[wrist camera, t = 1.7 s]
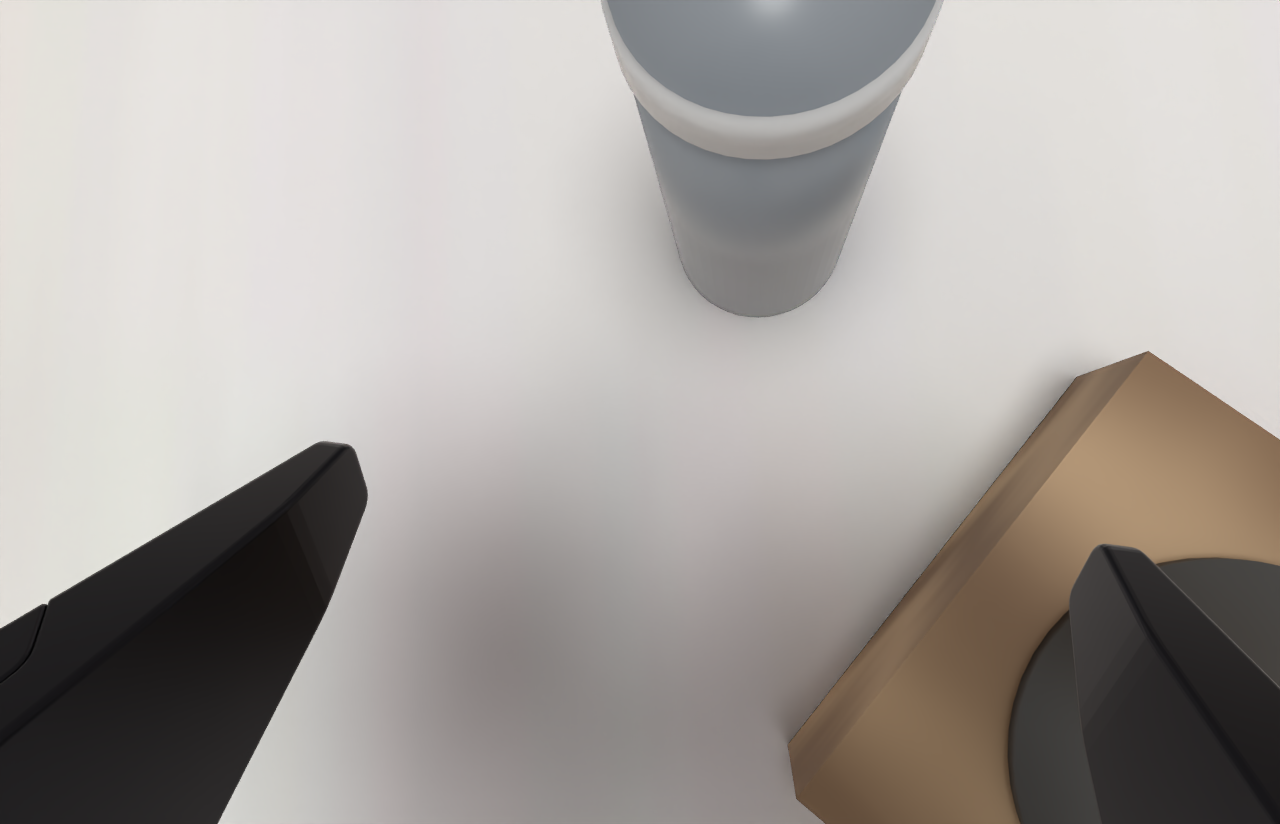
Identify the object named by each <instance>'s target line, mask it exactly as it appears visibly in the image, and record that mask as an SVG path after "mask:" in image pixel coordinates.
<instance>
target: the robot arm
mask: <svg viewBox="0 0 1280 824" xmlns="http://www.w3.org/2000/svg"><path fill="white" fill-rule="evenodd" d="M367 498H368V493H367V487H366V483H365V480H364V477H363V474H362V470H361V467H360V464H359V461H358V458H357V454H356V452H355V450H354V449H353V448H352V447H351V446H350V445H348V444H342V443H335V442H327V441H322V442H318V443H316V444H314V445H312V446H310V447H309V448H307V449H305V450H304V451H302V452H300V453H298V454H297V455H295V456H293V457H292V458H290V459H288V460H287V461H285V462H283V463H281V464H280V465H278V466H276V467H275V468H273V469H271V470H270V471H268V472H266V473H264V474H263V475H261V476H259V477H258V478H256V479H254V480H253V481H251V482H249V483H247V484H246V485H244V486H242V487H241V488H239V489H237V490H236V491H234V492H232V493H230V494H229V495H227V496H225V497H224V498H222V499H220V500H219V501H217V502H215V503H213V504H212V505H210V506H208V507H207V508H205V509H203V510H202V511H200V512H198V513H196V514H195V515H193V516H191V517H190V518H188V519H186V520H185V521H183V522H181V523H179V524H178V525H176V526H174V527H173V528H171V529H169V530H168V531H166V532H164V533H163V534H161V535H159V536H157V537H156V538H154V539H152V540H151V541H149V542H147V543H146V544H144V545H142V546H140V547H139V548H137V549H135V550H134V551H132V552H130V553H129V554H127V555H125V556H123V557H122V558H120V559H118V560H117V561H115V562H113V563H112V564H110V565H108V566H106V567H105V568H103V569H101V570H100V571H98V572H96V573H94V574H93V575H91V576H89V577H88V578H86V579H84V580H83V581H81V582H79V583H77V584H76V585H74V586H72V587H71V588H69V589H67V590H66V591H64V592H62V593H60V594H59V595H57V596H55V597H54V598H52V599H51V600H50V601H49V602H48V605H47V604H42V605H40V606H38V607H36V608H35V609H33V610H31V611H30V612H28V613H26V614H24V615H23V616H21V617H19V618H18V619H16V620H14V621H13V622H11V623H9V624H7V625H6V626H4V627H2V628H0V824H218V822H219V820H220V818H221V816H222V814H223V812H224V810H225V808H226V806H227V804H228V802H229V800H230V798H231V796H232V794H233V792H234V790H235V788H236V787H237V785H238V783H239V781H240V779H241V777H242V775H243V773H244V771H245V769H246V767H247V765H248V763H249V761H250V759H251V757H252V755H253V753H254V751H255V749H256V747H257V745H258V743H259V742H260V740H261V738H262V736H263V734H264V732H265V730H266V728H267V726H268V724H269V722H270V720H271V718H272V716H273V714H274V712H275V710H276V708H277V706H278V704H279V702H280V700H281V698H282V696H283V695H284V693H285V691H286V689H287V687H288V685H289V683H290V681H291V679H292V677H293V675H294V673H295V671H296V669H297V667H298V665H299V663H300V661H301V659H302V657H303V655H304V653H305V651H306V650H307V648H308V646H309V644H310V642H311V640H312V638H313V636H314V634H315V632H316V630H317V628H318V626H319V624H320V622H321V620H322V618H323V616H324V614H325V612H326V609H327V607H328V605H329V602H330V600H331V598H332V595H333V593H334V590H335V587H336V585H337V582H338V580H339V577H340V574H341V572H342V569H343V566H344V564H345V561H346V558H347V556H348V553H349V550H350V548H351V545H352V543H353V540H354V537H355V535H356V532H357V529H358V527H359V524H360V521H361V519H362V516H363V513H364V511H365V508H366V504H367ZM1069 613H1070V623H1071V634H1072V644H1073V655H1074V665H1075V675H1076V686H1077V696H1078V706H1079V716H1080V724H1081V732H1082V737H1083V742H1084V748H1085V753H1086V757H1087V762H1088V767H1089V771H1090V776H1091V780H1092V785H1093V789H1094V794H1095V798H1096V803H1097V807H1098V812H1099V816H1100V821H1101V824H1280V687H1279V686H1278V685H1277V684H1276V683H1275V682H1274V681H1273V680H1272V679H1271V678H1270V677H1269V676H1268V675H1267V674H1266V673H1265V672H1264V671H1263V670H1262V669H1261V668H1260V667H1259V666H1258V665H1257V664H1256V663H1255V662H1254V661H1253V660H1252V659H1251V658H1250V657H1249V656H1248V655H1247V654H1246V653H1245V652H1244V651H1243V650H1242V649H1241V648H1240V647H1239V646H1238V645H1237V644H1236V643H1235V642H1234V641H1233V640H1232V639H1231V638H1230V637H1229V636H1228V635H1227V634H1226V633H1225V632H1224V631H1223V630H1222V629H1221V628H1220V627H1219V626H1217V625H1216V624H1215V623H1214V622H1213V621H1212V620H1211V619H1210V618H1209V617H1208V616H1207V615H1206V614H1205V613H1204V612H1203V611H1202V610H1201V609H1200V608H1199V607H1198V606H1197V605H1196V604H1195V603H1194V602H1193V601H1192V600H1191V599H1190V598H1189V597H1188V596H1187V595H1186V594H1185V593H1184V592H1183V591H1182V590H1181V589H1180V588H1179V587H1178V586H1177V585H1176V584H1175V583H1174V582H1173V581H1172V580H1171V579H1170V578H1169V577H1168V576H1167V575H1166V574H1165V573H1164V572H1163V571H1162V570H1161V569H1160V568H1159V567H1158V566H1157V565H1156V564H1155V563H1154V562H1153V561H1152V560H1151V559H1150V558H1149V557H1148V556H1147V555H1146V554H1145V553H1143V552H1142V551H1141V550H1139V549H1137V548H1134V547H1128V546H1120V545H1112V544H1099V545H1097V546H1096V547H1095V548H1094V549H1093V550H1092V552H1091V553H1090V555H1089V557H1088V559H1087V561H1086V563H1085V565H1084V566H1083V568H1082V570H1081V572H1080V574H1079V576H1078V578H1077V579H1076V581H1075V583H1074V585H1073V587H1072V589H1071V593H1070V598H1069Z"/></svg>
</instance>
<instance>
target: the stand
mask: <svg viewBox="0 0 1280 824" xmlns="http://www.w3.org/2000/svg"><path fill="white" fill-rule="evenodd" d="M1099 544H1112V545H1120V546H1128V547H1134V548H1137V549H1139V550H1141V551H1142V552H1143V553H1145V554H1146V555H1147V556H1148V557H1149V558H1150V559H1151V560H1152V561H1153V562H1154V563H1155V564H1156V565H1157V566H1158V567H1159V568H1160V569H1161V570H1162V571H1163V572H1164V573H1165V574H1166V575H1167V576H1168V577H1169V578H1170V579H1171V580H1172V581H1173V582H1174V583H1175V584H1176V585H1177V586H1178V587H1179V588H1180V589H1181V590H1182V591H1183V592H1184V593H1185V594H1186V595H1187V596H1188V597H1189V598H1190V599H1191V600H1192V601H1193V602H1194V603H1195V604H1196V605H1197V606H1198V607H1199V608H1200V609H1201V610H1202V611H1203V612H1204V613H1205V614H1206V615H1207V616H1208V617H1209V618H1210V619H1211V620H1212V621H1213V622H1214V623H1215V624H1216V625H1217V626H1219V627H1220V628H1221V629H1222V630H1223V631H1224V632H1225V633H1226V634H1227V635H1228V636H1229V637H1230V638H1231V639H1232V640H1233V641H1234V642H1235V643H1236V644H1237V645H1238V646H1239V647H1240V648H1241V649H1242V650H1243V651H1244V652H1245V653H1246V654H1247V655H1248V656H1249V657H1250V658H1251V659H1252V660H1253V661H1254V662H1255V663H1256V664H1257V665H1258V666H1259V667H1260V668H1261V669H1262V670H1263V671H1264V672H1265V673H1266V674H1267V675H1268V676H1269V677H1270V678H1271V679H1272V680H1273V681H1274V682H1275V683H1276V684H1277V685H1278V686H1279V687H1280V440H1279V439H1278V438H1276V437H1275V436H1273V435H1272V434H1270V433H1269V432H1268V431H1266V430H1265V429H1263V428H1262V427H1260V426H1259V425H1257V424H1256V423H1254V422H1253V421H1251V420H1250V419H1248V418H1247V417H1245V416H1244V415H1242V414H1241V413H1239V412H1238V411H1236V410H1235V409H1233V408H1232V407H1231V406H1229V405H1228V404H1226V403H1225V402H1223V401H1222V400H1220V399H1219V398H1217V397H1216V396H1214V395H1213V394H1211V393H1210V392H1208V391H1207V390H1205V389H1204V388H1202V387H1201V386H1199V385H1198V384H1196V383H1195V382H1193V381H1192V380H1191V379H1189V378H1188V377H1186V376H1185V375H1183V374H1182V373H1180V372H1179V371H1177V370H1176V369H1174V368H1173V367H1171V366H1170V365H1168V364H1167V363H1165V362H1164V361H1162V360H1161V359H1159V358H1158V357H1156V356H1155V355H1154V354H1152V353H1151V352H1149V351H1147V352H1144V353H1142V354H1139V355H1136V356H1133V357H1130V358H1128V359H1125V360H1122V361H1119V362H1117V363H1114V364H1111V365H1108V366H1106V367H1103V368H1100V369H1097V370H1095V371H1092V372H1089V373H1086V374H1084V375H1081V376H1078V377H1077V378H1076V379H1075V380H1074V381H1073V383H1072V384H1071V385H1070V387H1069V388H1068V389H1067V390H1066V392H1065V393H1064V394H1063V395H1062V397H1061V398H1060V399H1059V401H1058V402H1057V403H1056V404H1055V406H1054V407H1053V408H1052V409H1051V411H1050V412H1049V413H1048V414H1047V416H1046V417H1045V418H1044V420H1043V421H1042V422H1041V423H1040V425H1039V426H1038V427H1037V428H1036V430H1035V431H1034V432H1033V434H1032V435H1031V436H1030V437H1029V439H1028V440H1027V441H1026V442H1025V444H1024V445H1023V446H1022V448H1021V449H1020V450H1019V451H1018V453H1017V454H1016V455H1015V456H1014V458H1013V459H1012V460H1011V462H1010V463H1009V464H1008V465H1007V467H1006V468H1005V469H1004V470H1003V472H1002V473H1001V474H1000V476H999V477H998V478H997V479H996V481H995V482H994V483H993V484H992V486H991V487H990V488H989V490H988V491H987V492H986V493H985V495H984V496H983V497H982V498H981V500H980V501H979V502H978V504H977V505H976V506H975V507H974V509H973V510H972V511H971V512H970V514H969V515H968V516H967V518H966V519H965V520H964V521H963V523H962V524H961V525H960V526H959V528H958V529H957V530H956V532H955V533H954V534H953V535H952V537H951V538H950V539H949V540H948V542H947V543H946V544H945V545H944V547H943V548H942V549H941V551H940V552H939V553H938V554H937V556H936V557H935V558H934V559H933V561H932V562H931V563H930V565H929V566H928V567H927V568H926V570H925V571H924V572H923V573H922V575H921V576H920V577H919V579H918V580H917V581H916V582H915V584H914V585H913V586H912V587H911V589H910V590H909V591H908V593H907V594H906V595H905V596H904V598H903V599H902V600H901V601H900V603H899V604H898V605H897V607H896V608H895V609H894V610H893V612H892V613H891V614H890V615H889V617H888V618H887V619H886V621H885V622H884V623H883V624H882V626H881V627H880V628H879V629H878V631H877V632H876V633H875V635H874V636H873V637H872V638H871V640H870V641H869V642H868V643H867V645H866V646H865V647H864V649H863V650H862V651H861V652H860V654H859V655H858V656H857V657H856V659H855V660H854V661H853V663H852V664H851V665H850V666H849V668H848V669H847V670H846V671H845V673H844V674H843V675H842V676H841V678H840V679H839V680H838V682H837V683H836V684H835V685H834V687H833V688H832V689H831V690H830V692H829V693H828V694H827V696H826V697H825V698H824V699H823V701H822V702H821V703H820V704H819V706H818V707H817V708H816V710H815V711H814V712H813V713H812V715H811V716H810V717H809V718H808V720H807V721H806V722H805V724H804V725H803V726H802V727H801V729H800V730H799V731H798V732H797V734H796V735H795V736H794V738H793V739H792V740H791V741H790V743H789V744H788V750H789V756H790V762H791V768H792V775H793V781H794V787H795V794H796V799H797V800H798V801H800V802H801V803H802V804H803V805H804V806H805V807H807V808H808V809H809V810H810V811H811V812H812V813H814V814H815V815H816V816H817V817H818V818H819V819H821V820H822V821H823V822H824V823H825V824H1101V821H1100V816H1099V812H1098V807H1097V803H1096V798H1095V794H1094V789H1093V785H1092V780H1091V776H1090V771H1089V767H1088V762H1087V757H1086V753H1085V748H1084V742H1083V737H1082V732H1081V724H1080V716H1079V706H1078V696H1077V686H1076V675H1075V665H1074V655H1073V644H1072V634H1071V623H1070V613H1069V598H1070V593H1071V589H1072V587H1073V585H1074V583H1075V581H1076V579H1077V578H1078V576H1079V574H1080V572H1081V570H1082V568H1083V566H1084V565H1085V563H1086V561H1087V559H1088V557H1089V555H1090V553H1091V552H1092V550H1093V549H1094V548H1095V547H1096V546H1097V545H1099Z"/></svg>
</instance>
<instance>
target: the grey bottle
mask: <svg viewBox="0 0 1280 824" xmlns="http://www.w3.org/2000/svg"><path fill="white" fill-rule="evenodd" d="M943 1H944V0H601V4H602V9H603V13H604V16H605V19H606V23H607V26H608V29H609V33H610V36H611V39H612V43H613V46H614V50H615V53H616V56H617V59H618V62H619V65H620V68H621V71H622V73H623V75H624V77H625V79H626V81H627V83H628V85H629V87H630V89H631V91H632V92H633V93H634V97H635V100H636V104H637V107H638V111H639V114H640V118H641V121H642V125H643V128H644V132H645V135H646V139H647V142H648V146H649V149H650V153H651V156H652V160H653V163H654V167H655V171H656V174H657V178H658V181H659V185H660V188H661V192H662V195H663V199H664V202H665V206H666V209H667V213H668V216H669V220H670V223H671V227H672V230H673V234H674V237H675V241H676V244H677V248H678V251H679V255H680V258H681V262H682V265H683V268H684V270H685V272H686V274H687V276H688V278H689V280H690V281H691V283H692V284H693V286H694V287H695V288H696V289H697V291H698V292H699V293H700V294H701V295H702V296H703V297H705V298H706V299H707V300H708V301H709V302H711V303H712V304H714V305H716V306H717V307H719V308H721V309H723V310H725V311H728V312H731V313H734V314H737V315H742V316H748V317H766V316H773V315H778V314H782V313H785V312H788V311H790V310H792V309H795V308H797V307H799V306H800V305H802V304H804V303H805V302H807V301H808V300H809V299H811V298H812V297H813V296H814V295H815V294H816V293H818V291H819V290H820V289H821V288H822V287H823V286H824V285H825V283H826V282H827V280H828V279H829V277H830V276H831V274H832V272H833V270H834V268H835V266H836V263H837V260H838V258H839V255H840V253H841V250H842V247H843V245H844V242H845V239H846V237H847V234H848V231H849V229H850V226H851V224H852V221H853V218H854V216H855V213H856V210H857V208H858V205H859V202H860V200H861V197H862V194H863V192H864V189H865V187H866V184H867V181H868V179H869V176H870V173H871V171H872V168H873V165H874V163H875V160H876V158H877V155H878V152H879V150H880V147H881V144H882V142H883V139H884V136H885V134H886V131H887V129H888V126H889V123H890V121H891V118H892V115H893V113H894V110H895V107H896V105H897V102H898V99H899V97H900V94H901V92H902V90H903V88H904V87H905V85H906V84H907V82H908V81H909V79H910V78H911V76H912V75H913V73H914V71H915V69H916V67H917V65H918V63H919V61H920V59H921V57H922V55H923V52H924V50H925V47H926V45H927V42H928V40H929V37H930V35H931V32H932V30H933V27H934V25H935V22H936V20H937V17H938V15H939V12H940V9H941V7H942V4H943Z"/></svg>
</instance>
